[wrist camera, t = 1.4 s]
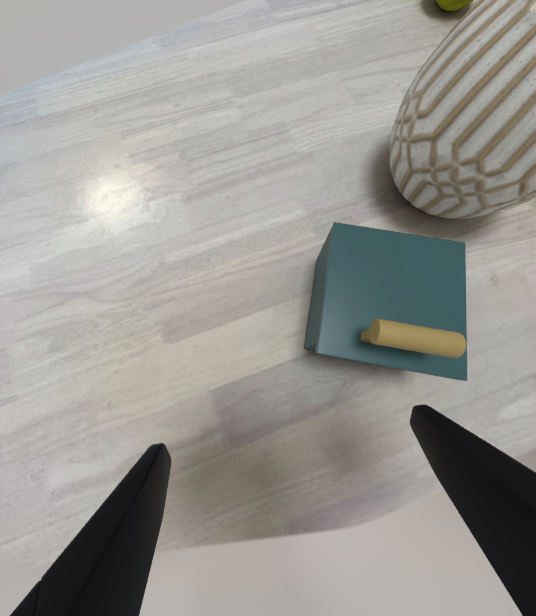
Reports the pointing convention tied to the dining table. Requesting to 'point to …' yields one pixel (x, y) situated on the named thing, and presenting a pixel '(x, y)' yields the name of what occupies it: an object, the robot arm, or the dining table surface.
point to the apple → (452, 4)
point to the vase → (472, 117)
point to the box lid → (395, 301)
